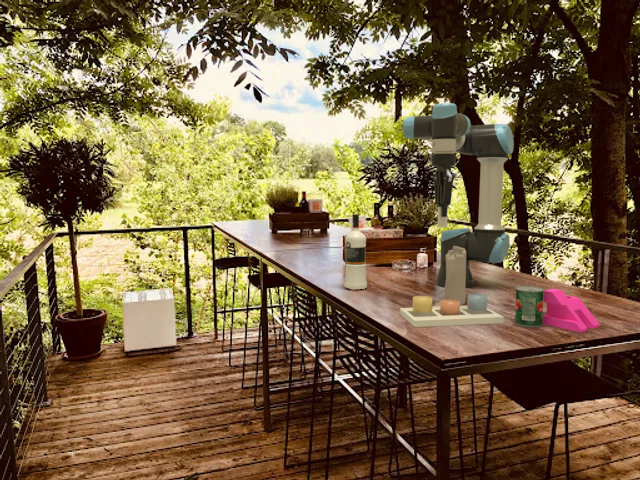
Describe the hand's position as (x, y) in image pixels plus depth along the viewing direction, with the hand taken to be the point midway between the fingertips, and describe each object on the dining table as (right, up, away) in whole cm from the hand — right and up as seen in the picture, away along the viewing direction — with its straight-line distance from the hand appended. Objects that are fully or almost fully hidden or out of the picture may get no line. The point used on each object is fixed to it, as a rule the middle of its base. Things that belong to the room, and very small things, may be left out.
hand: (442, 226), depth 177 cm
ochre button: (-8, -26, -6) cm, 28 cm away
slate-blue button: (+10, -26, -4) cm, 28 cm away
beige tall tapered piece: (+6, -27, +15) cm, 31 cm away
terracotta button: (+1, -28, -5) cm, 28 cm away
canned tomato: (+23, -30, -12) cm, 40 cm away
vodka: (-25, -24, +43) cm, 55 cm away
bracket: (+36, -30, -13) cm, 49 cm away
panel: (+1, -29, -5) cm, 30 cm away
